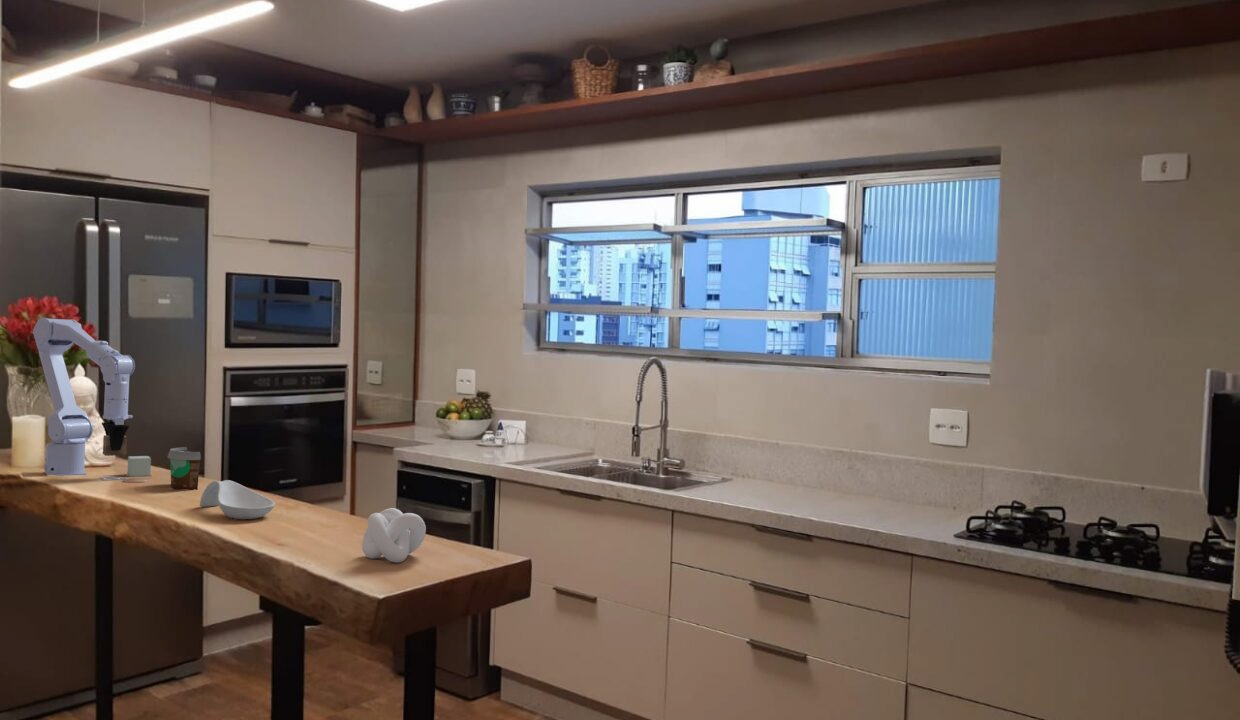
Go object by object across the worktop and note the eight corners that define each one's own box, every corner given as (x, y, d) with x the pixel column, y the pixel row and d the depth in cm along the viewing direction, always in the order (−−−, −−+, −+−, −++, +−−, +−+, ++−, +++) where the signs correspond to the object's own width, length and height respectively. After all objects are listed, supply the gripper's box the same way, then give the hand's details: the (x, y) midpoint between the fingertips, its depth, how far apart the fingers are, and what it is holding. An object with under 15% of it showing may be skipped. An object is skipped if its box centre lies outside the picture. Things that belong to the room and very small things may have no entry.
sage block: (130, 476, 251) (130, 458, 251) (127, 474, 255) (128, 456, 255) (150, 475, 254) (150, 458, 254) (147, 473, 258) (147, 456, 258)
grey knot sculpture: (342, 558, 170) (344, 510, 170) (392, 548, 180) (394, 503, 180) (383, 568, 163) (385, 519, 163) (432, 557, 173) (434, 511, 173)
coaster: (124, 484, 239) (124, 482, 239) (120, 480, 245) (120, 478, 245) (154, 483, 243) (154, 481, 243) (149, 479, 249) (149, 477, 249)
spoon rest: (284, 519, 205) (285, 487, 204) (234, 525, 195) (235, 492, 195) (231, 504, 219) (232, 475, 219) (182, 509, 210) (184, 479, 210)
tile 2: (128, 478, 250) (128, 476, 250) (125, 475, 255) (125, 474, 255) (152, 477, 254) (152, 476, 254) (148, 474, 258) (148, 473, 258)
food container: (160, 485, 241) (161, 447, 241) (184, 483, 245) (186, 446, 245) (174, 491, 232) (175, 453, 232) (199, 490, 236) (201, 452, 236)
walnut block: (105, 455, 242) (106, 437, 243) (102, 453, 247) (103, 435, 247) (126, 455, 245) (127, 436, 246) (123, 453, 250) (124, 435, 250)
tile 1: (102, 481, 242) (102, 480, 242) (99, 478, 247) (99, 477, 247) (127, 480, 245) (127, 479, 245) (123, 477, 250) (123, 476, 250)
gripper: (137, 401, 242) (135, 451, 243) (128, 397, 254) (126, 445, 254) (107, 401, 238) (105, 452, 238) (100, 397, 250) (97, 446, 250)
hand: (114, 449), depth 246 cm, fingers closed on walnut block, 5 cm apart
